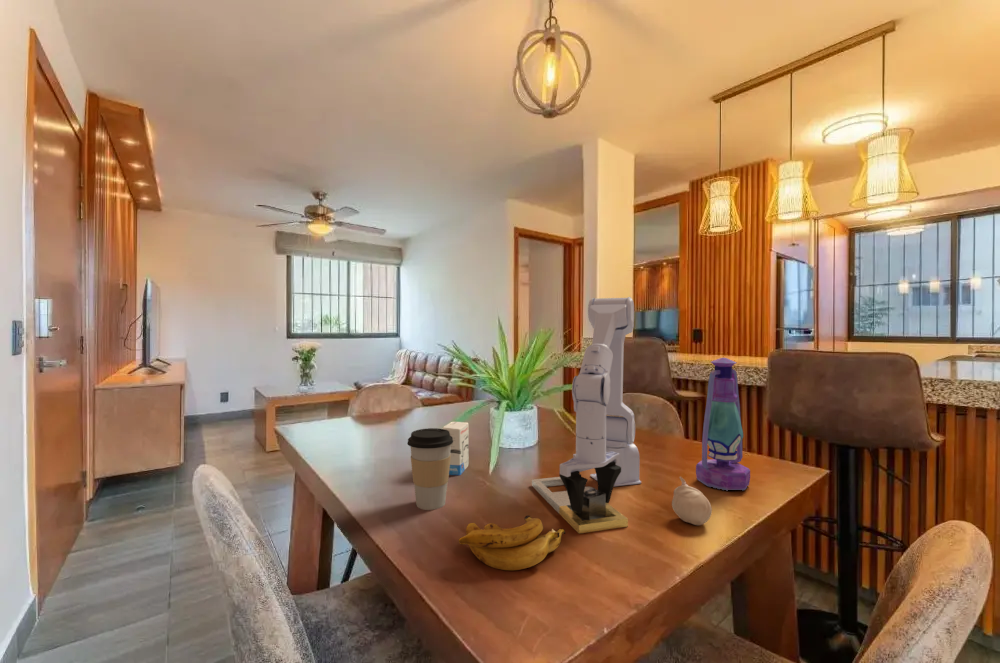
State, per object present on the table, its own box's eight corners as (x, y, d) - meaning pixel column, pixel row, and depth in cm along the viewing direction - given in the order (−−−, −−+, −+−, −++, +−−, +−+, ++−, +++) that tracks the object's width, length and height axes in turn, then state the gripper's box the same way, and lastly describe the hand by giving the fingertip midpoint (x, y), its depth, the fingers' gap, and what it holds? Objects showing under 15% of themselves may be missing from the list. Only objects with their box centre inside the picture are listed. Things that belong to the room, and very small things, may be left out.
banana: (586, 559, 69) (586, 524, 69) (475, 589, 61) (475, 549, 61) (538, 520, 83) (538, 491, 83) (443, 540, 75) (443, 507, 75)
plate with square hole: (571, 481, 103) (571, 475, 103) (627, 526, 80) (627, 518, 80) (531, 486, 100) (531, 479, 100) (578, 533, 77) (578, 525, 77)
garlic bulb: (705, 516, 84) (705, 476, 84) (714, 532, 78) (715, 488, 78) (669, 513, 85) (670, 473, 85) (676, 528, 79) (676, 485, 79)
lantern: (719, 472, 110) (719, 355, 110) (764, 487, 100) (765, 358, 99) (682, 480, 104) (683, 356, 104) (726, 497, 94) (727, 360, 93)
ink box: (460, 476, 106) (460, 429, 106) (441, 475, 107) (441, 428, 107) (469, 465, 115) (469, 421, 115) (451, 464, 116) (451, 420, 116)
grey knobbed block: (588, 511, 87) (588, 483, 87) (605, 519, 83) (605, 490, 83) (572, 516, 84) (572, 488, 84) (589, 525, 80) (589, 495, 80)
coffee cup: (460, 499, 92) (460, 429, 92) (440, 517, 83) (440, 440, 83) (421, 493, 95) (421, 425, 95) (398, 510, 87) (398, 436, 86)
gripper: (600, 427, 90) (600, 491, 91) (548, 436, 82) (548, 507, 82) (628, 433, 85) (627, 502, 85) (575, 445, 76) (574, 521, 77)
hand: (590, 505), depth 83 cm, fingers open, 7 cm apart
